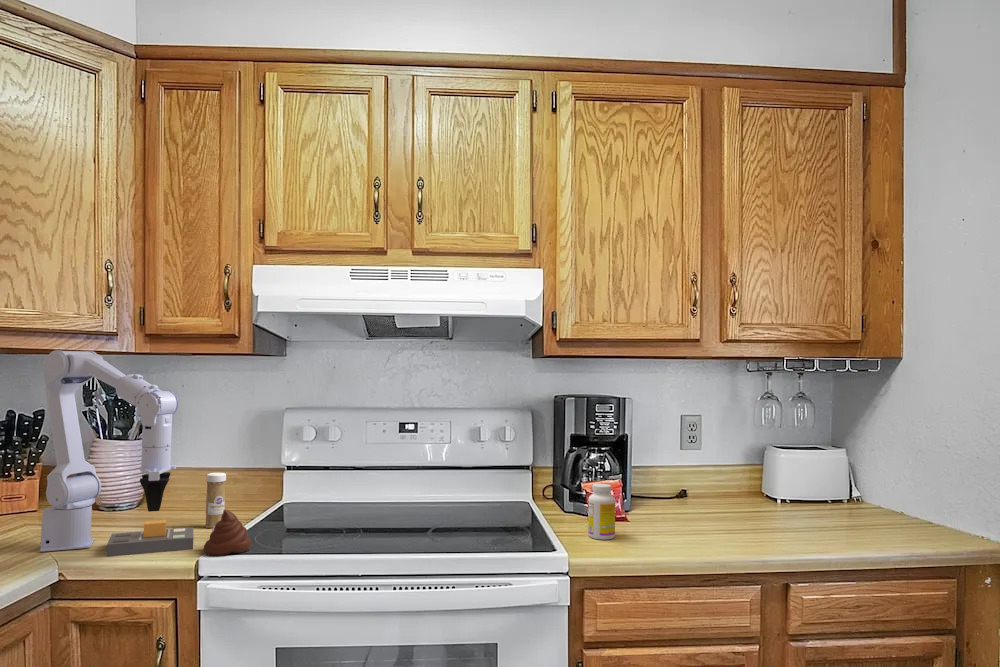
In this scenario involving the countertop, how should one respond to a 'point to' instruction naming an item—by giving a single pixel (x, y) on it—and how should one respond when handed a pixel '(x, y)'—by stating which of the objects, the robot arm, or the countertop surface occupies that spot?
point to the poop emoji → (227, 537)
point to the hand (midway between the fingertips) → (154, 508)
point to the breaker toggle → (155, 528)
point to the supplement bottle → (601, 513)
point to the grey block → (149, 542)
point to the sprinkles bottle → (215, 498)
